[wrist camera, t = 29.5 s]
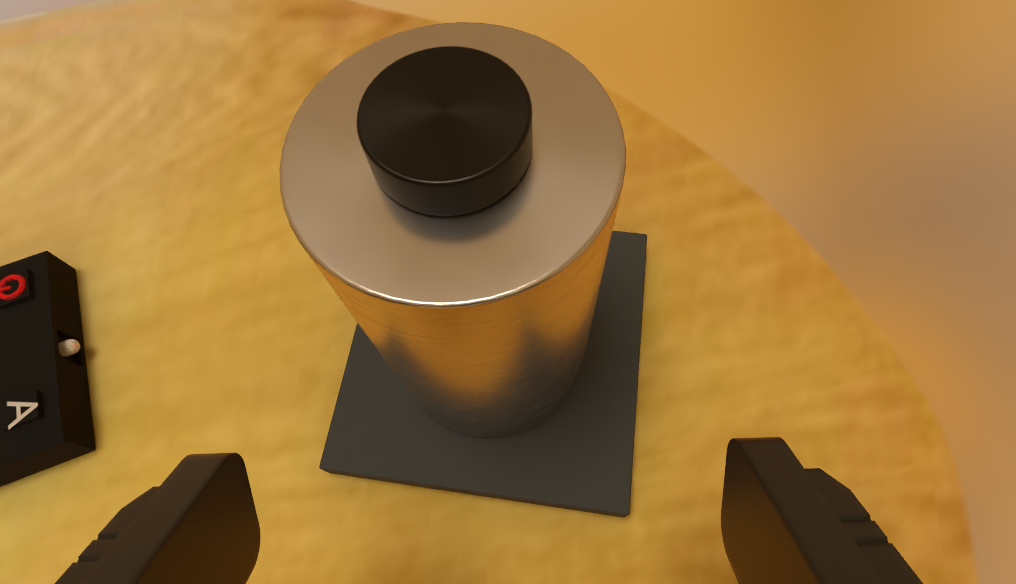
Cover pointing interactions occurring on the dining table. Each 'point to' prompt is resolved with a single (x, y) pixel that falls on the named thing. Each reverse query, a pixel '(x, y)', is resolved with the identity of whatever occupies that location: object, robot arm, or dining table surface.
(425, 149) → the steel carafe
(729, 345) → the dining table surface
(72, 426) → the remote control
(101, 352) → the dining table surface
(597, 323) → the trivet
